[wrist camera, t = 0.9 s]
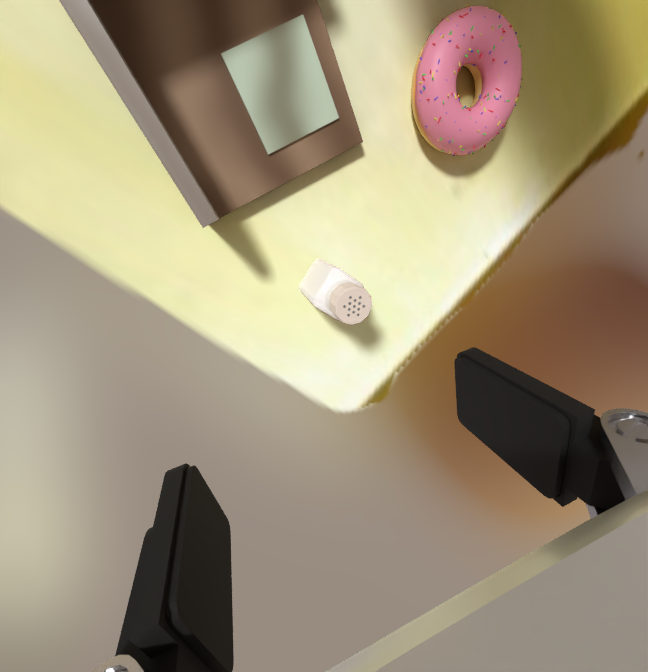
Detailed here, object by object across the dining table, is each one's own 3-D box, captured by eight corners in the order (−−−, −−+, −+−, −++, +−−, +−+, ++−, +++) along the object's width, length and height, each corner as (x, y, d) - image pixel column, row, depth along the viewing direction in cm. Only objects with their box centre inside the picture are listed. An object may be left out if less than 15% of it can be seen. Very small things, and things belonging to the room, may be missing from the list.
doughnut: (481, -6, 27) (522, -40, 24) (507, 123, 32) (544, 111, 29) (384, 60, 27) (410, 36, 23) (426, 180, 32) (453, 176, 28)
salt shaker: (324, 306, 34) (358, 337, 25) (295, 288, 32) (321, 315, 24) (344, 275, 33) (385, 297, 25) (315, 255, 31) (349, 271, 23)
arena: (275, -102, 21) (298, -237, 15) (357, 144, 29) (396, 125, 22) (63, -9, 20) (-13, -113, 13) (207, 223, 27) (203, 227, 21)
